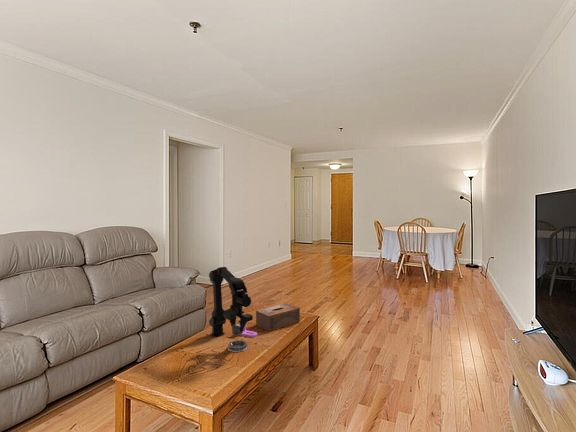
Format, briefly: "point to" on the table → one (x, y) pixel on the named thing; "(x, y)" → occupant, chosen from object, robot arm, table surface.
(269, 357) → the table surface
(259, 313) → the tissue box cover
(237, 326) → the cap
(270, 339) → the table surface
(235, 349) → the shallow metal dish
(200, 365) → the table surface
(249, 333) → the bracket
